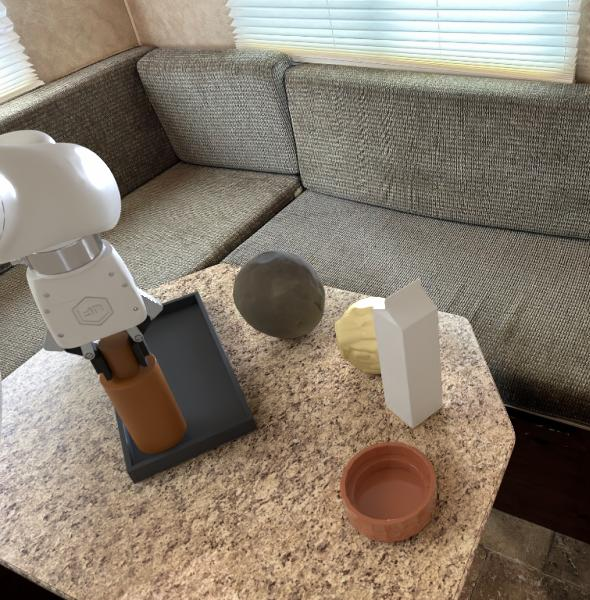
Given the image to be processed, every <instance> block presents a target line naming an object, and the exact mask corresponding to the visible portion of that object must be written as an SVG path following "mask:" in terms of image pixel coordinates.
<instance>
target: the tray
mask: <svg viewBox="0 0 590 600" xmlns="http://www.w3.org/2000/svg"><path fill="white" fill-rule="evenodd" d="M161 304H162V307H163V310H162V311H161V312H160V313H159V314H158V315H157V316H156V317H155V318H154V319H152V320H151V323H150V325H149V327H148V328H147V330H146V332H145V333H144V335H143V336H144V340H145V342H146V345H147V347H148V349H149V352H150V353H152V354H153V355H154V357H155V358H156V361H157V363H158V365H159V367H160V369H161V371H162V373H163V375H164V377H165V379H166V382H167V384H168V386H169V388H170V390H171V392H172V394H173V396H174V398H175V401H176V403H177V405H178V407H179V409H180V411H181V413H182V415H183V417H184V420H185V422H186V425H187V428H186V433H185V435H184V437H183V438H182V440H181V441H180V442H179V443H178V444H177V445H175V446H174V447H173V448H171V449H169V450H167V451H165V452H162V453H158V454H147V453H144V452H142V451H140V450H139V449H138V447H137V445H136V444H135V442H134V440H133V439H132V437H131V435H130V433H129V432H128V430H127V428H126V426H125V425H124V423H123V421H122V419H121V418H120V416H119V414H118V412H117V411H116V409H115V407H114V406H113V410H114V416H115V419H116V424H117V430H118V435H119V439H120V445H121V450H122V455H123V460H124V465H125V469H126V474H127V475H128V477H129V478H130V480H131V482H132V483H133V485H135V484H137V483H139V482H142V481H145V480H146V479H149V478H151V477H154V476H156V475H159V474H160V473H162V472H164V471H167V470H169V469H171V468H174V467H176V466H178V465H180V464H183V463H185V462H188V461H189V460H192V459H195V458H196V457H199V456H201V455H203V454H205V453H208V452H210V451H213V450H215V449H217V448H219V447H221V446H224V445H226V444H228V443H231V442H233V441H236V440H237V439H240V438H242V437H244V436H246V435H249V434H251V433H253V432H256V431H258V430H259V426H258V425H257V422H256V419H255V416H254V414H253V411H252V410H251V408H250V405H249V403H248V400H247V398H246V396H245V394H244V391H243V390H242V387H241V385H240V382H239V380H238V378H237V376H236V373H235V371H234V369H233V366H232V364H231V362H230V360H229V357H228V356H227V352H226V351H225V348H224V346H223V344H222V342H221V339H220V337H219V335H218V333H217V331H216V328H215V326H214V323H213V322H212V319H211V317H210V314H209V312H208V310H207V308H206V305H205V304H204V301H203V299H202V297H201V294H200V292H199V290H195V291H193V292H190V293H187V294H184V295H182V296H179V297H176V298H173V299H170V300H168V301H165V302H161ZM124 332H126V333H127V334H128V332H127V331H126V330H124ZM128 336H129V334H128Z"/></svg>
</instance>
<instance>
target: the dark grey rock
mask: <svg viewBox="0 0 590 600" xmlns="http://www.w3.org/2000/svg"><path fill="white" fill-rule="evenodd" d="M232 299H233V303H234V305H235V308H236V309H237V311H238V313H239V314H240V316H241V317H242V318H243V319H244V321H245V322H246V323H247V324H248V325H249V326H250V327H251V328H252V329H254V330H255V331H257V332H259V333H260V334H263V335H266V336H269V337H271V338H276V339H284V340H285V339H286V340H288V339H296V338H299V337H302V336H305V335H307V334H309V333H311V332H312V331H313V330H314V329H316V328H317V326H318V325H319V324H320V323H321V321H322V320H323V319H322V318H323V315H324V312H325V306H326V290H325V286H324V283H323V281H322V278H321V277H320V275H319V273H318V272H317V270H316V269H315V268H314V267H313V266H312V264H311V263H310V262H308V261H307V259H305V258H303V257H301V256H300V255H298V254H295V253H293V252H290V251H287V250H279V249H273V250H266V251H261V252H260V253H257V254H256V255H253V256H252V257H251V258H249V259H248V260H247V261H246V263H244V265H242V266H241V268H240V269H239V271H238V272H237V274H236V276H235V278H234V281H233V288H232Z"/></svg>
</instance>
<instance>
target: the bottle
mask: <svg viewBox="0 0 590 600" xmlns="http://www.w3.org/2000/svg"><path fill="white" fill-rule="evenodd" d="M97 344H98V348H99V350H100V352H101V354H102V355H103V357H104V359H105V361H106V363H107V365H108V366H109V368H110V370H111V372H112V375H113V378H112V380H109V381H107V380H106V378H105V376H104V375H103V373H100V374H99V378H98V379H99V383H100V385H101V386H102V388H103V390H104V391H105V393H106V395H107V397H108V399H109V400H110V402H111V403H112V405H113V408H114V407H115V409H116V411H117V412H118V414H119V416H120V418H121V419H122V421H123V423H124V425H125V426H126V428H127V430H128V432H129V433H130V435H131V437H132V439H133V440H134V442H135V444H136V445H137V447H138V449H139V450H140V451H142V452H144V453H147V454H158V453H162V452H165V451H167V450H169V449H171V448H173V447H174V446H175V445H177V444H178V443H179V442H180V441H181V440H182V438H183V437H184V435H185V433H186V428H187V425H186V422H185V420H184V417H183V415H182V413H181V411H180V409H179V407H178V405H177V403H176V401H175V398H174V396H173V394H172V392H171V390H170V388H169V386H168V384H167V382H166V379H165V377H164V375H163V373H162V371H161V369H160V367H159V365H158V363H157V361H156V358H155V357H154V355H153V354H152V353H150V355H148V356H146V360H147V363H148V366H146V367H144V366H143V367H142V366H141V364H140V362H139V360H138V358H137V356H136V354H135V352H134V350H133V348H132V346H131V342H130V338H129V336H128V334H127V333H126V332H124V331H121V332H118V333H116V334H113V335H110V336H107V337H105V338H102V339H99V340H98V342H97Z"/></svg>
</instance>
